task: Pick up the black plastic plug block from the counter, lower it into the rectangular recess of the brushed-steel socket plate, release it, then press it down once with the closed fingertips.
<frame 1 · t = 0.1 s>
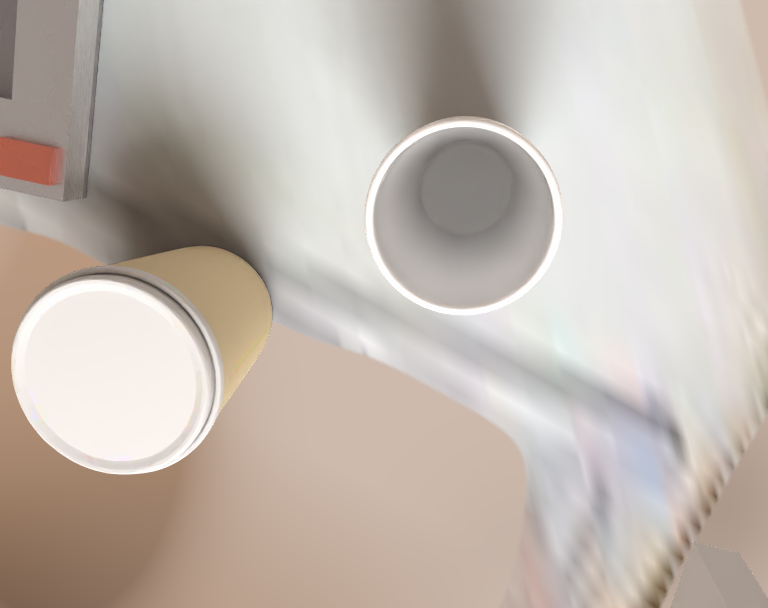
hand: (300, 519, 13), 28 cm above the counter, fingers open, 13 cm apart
coffee cup: (210, 309, 42), on the counter
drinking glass: (467, 185, 39), on the counter
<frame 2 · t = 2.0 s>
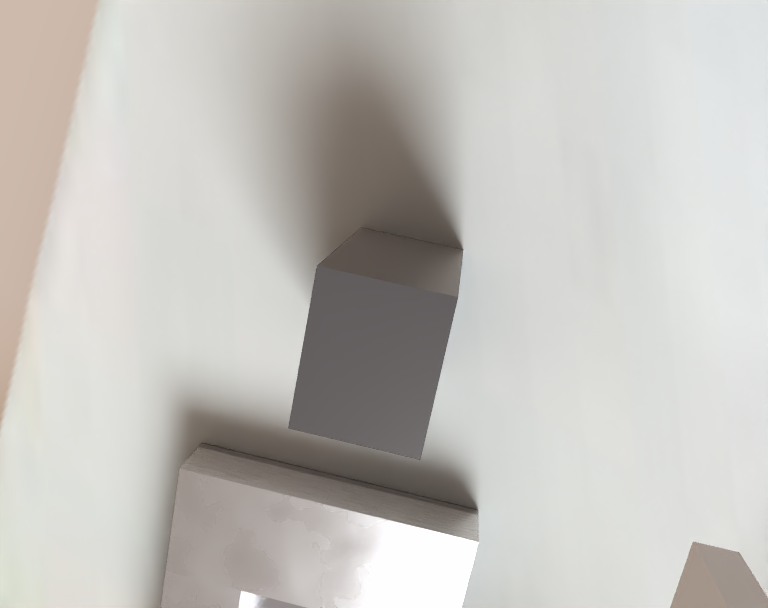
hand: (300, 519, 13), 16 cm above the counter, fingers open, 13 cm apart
plug: (399, 300, 28), on the counter
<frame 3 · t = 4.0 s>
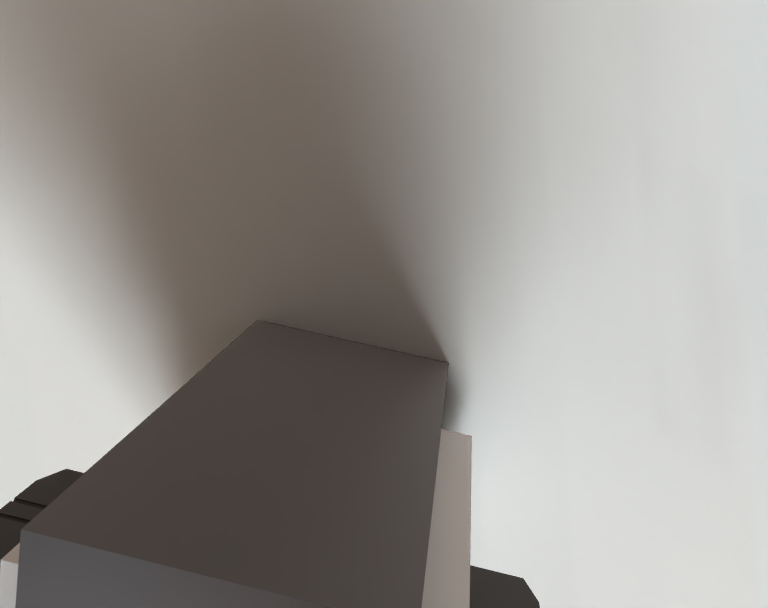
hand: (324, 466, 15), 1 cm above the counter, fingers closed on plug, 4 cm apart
plug: (331, 451, 15), on the counter, touching gripper
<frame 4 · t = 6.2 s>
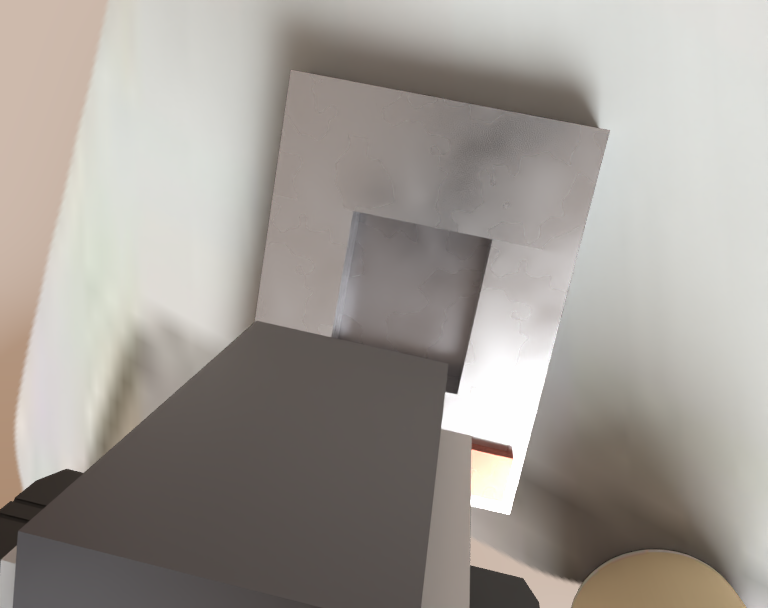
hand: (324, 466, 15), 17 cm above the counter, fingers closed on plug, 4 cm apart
socket plate: (411, 291, 31), on the counter
plug: (330, 452, 15), point 16 cm above the counter, touching gripper
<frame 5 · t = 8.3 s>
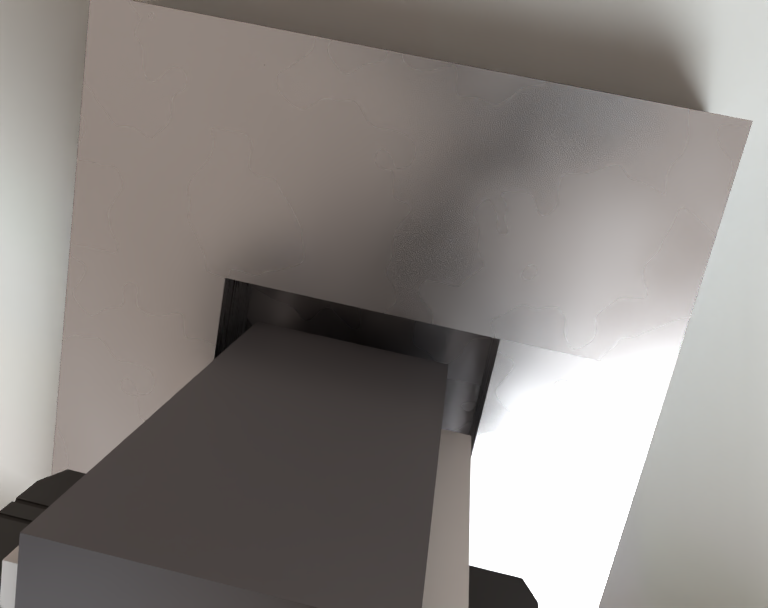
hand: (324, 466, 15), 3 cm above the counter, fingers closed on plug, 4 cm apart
socket plate: (352, 413, 17), on the counter
plug: (330, 453, 15), point 2 cm above the counter, touching gripper
when the fingers open (3 cm above the counter, at t = 9.6 s): plug stays where it is, resting on socket plate.
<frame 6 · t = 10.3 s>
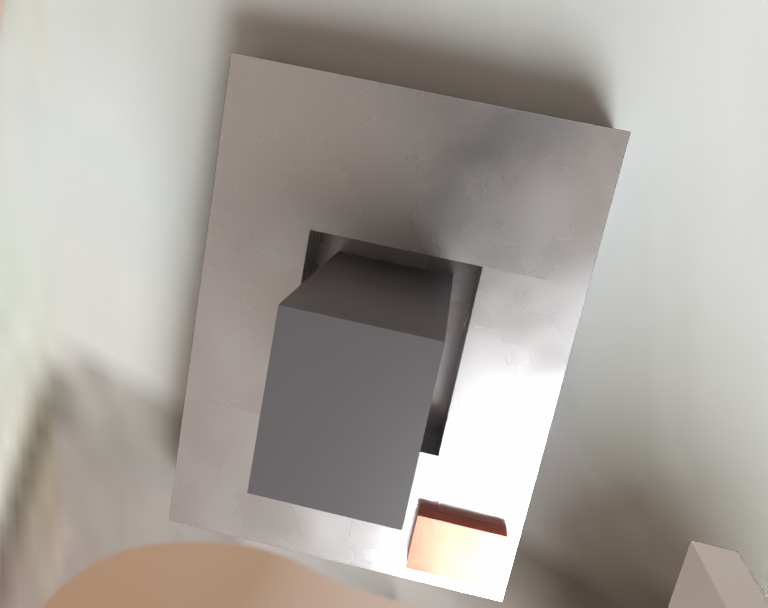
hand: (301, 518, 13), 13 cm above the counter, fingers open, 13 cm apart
socket plate: (384, 326, 26), on the counter
plug: (381, 332, 25), resting on socket plate
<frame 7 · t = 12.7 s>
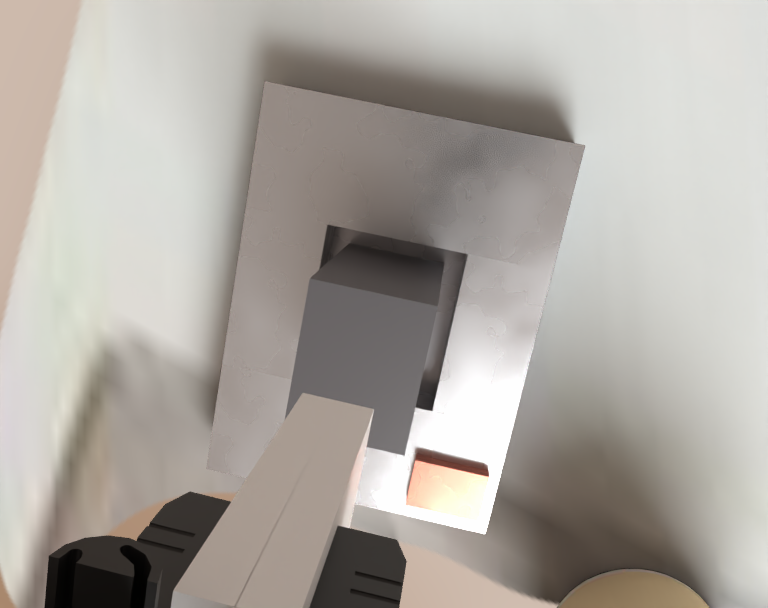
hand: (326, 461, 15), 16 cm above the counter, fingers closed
socket plate: (387, 306, 31), on the counter
plug: (384, 310, 30), resting on socket plate
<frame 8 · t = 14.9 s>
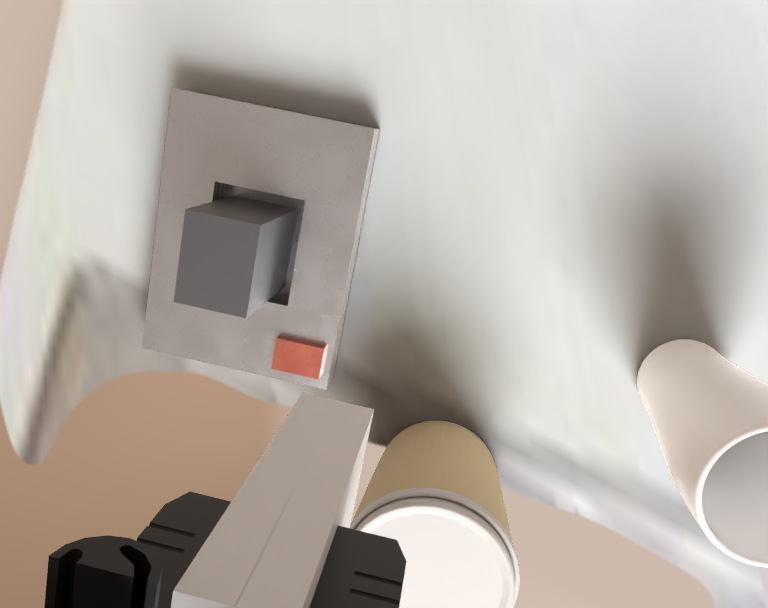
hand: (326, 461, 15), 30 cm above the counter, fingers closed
socket plate: (263, 238, 45), on the counter
coffee cup: (438, 472, 48), on the counter
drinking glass: (678, 376, 44), on the counter
plug: (260, 241, 45), resting on socket plate
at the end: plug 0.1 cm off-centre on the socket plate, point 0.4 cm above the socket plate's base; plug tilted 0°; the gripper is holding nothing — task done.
